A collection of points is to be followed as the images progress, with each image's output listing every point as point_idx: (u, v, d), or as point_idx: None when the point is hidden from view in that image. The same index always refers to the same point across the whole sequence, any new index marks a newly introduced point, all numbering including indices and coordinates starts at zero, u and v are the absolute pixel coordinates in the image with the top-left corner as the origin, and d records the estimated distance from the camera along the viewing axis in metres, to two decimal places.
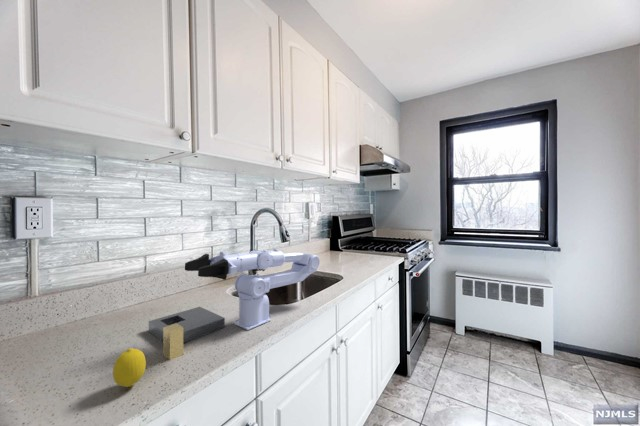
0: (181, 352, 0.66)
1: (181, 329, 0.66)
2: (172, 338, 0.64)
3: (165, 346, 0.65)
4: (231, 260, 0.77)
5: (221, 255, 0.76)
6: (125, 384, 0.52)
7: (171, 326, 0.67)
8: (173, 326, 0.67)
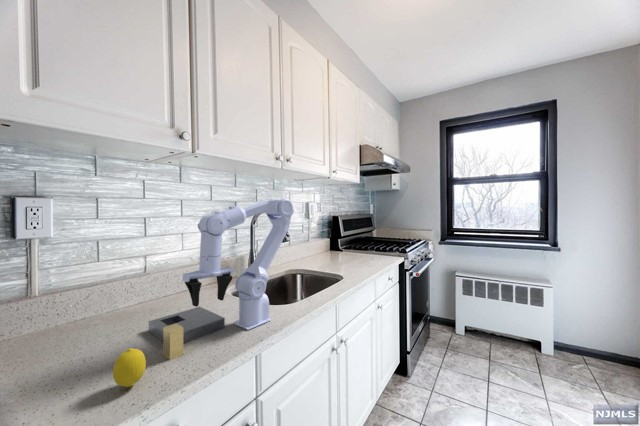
0: (181, 352, 0.66)
1: (181, 329, 0.66)
2: (172, 338, 0.64)
3: (165, 346, 0.65)
4: (220, 265, 0.76)
5: (215, 274, 0.73)
6: (125, 384, 0.52)
7: (171, 326, 0.67)
8: (173, 326, 0.67)
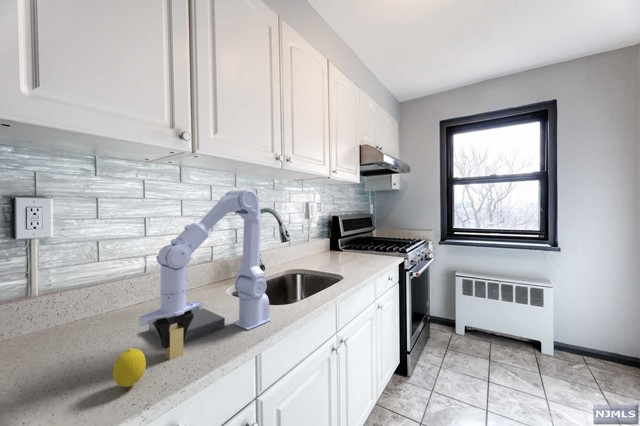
0: (181, 352, 0.66)
1: (181, 329, 0.66)
2: (172, 338, 0.64)
3: None
4: (185, 302, 0.67)
5: None
6: (125, 384, 0.52)
7: (171, 326, 0.67)
8: (173, 326, 0.67)
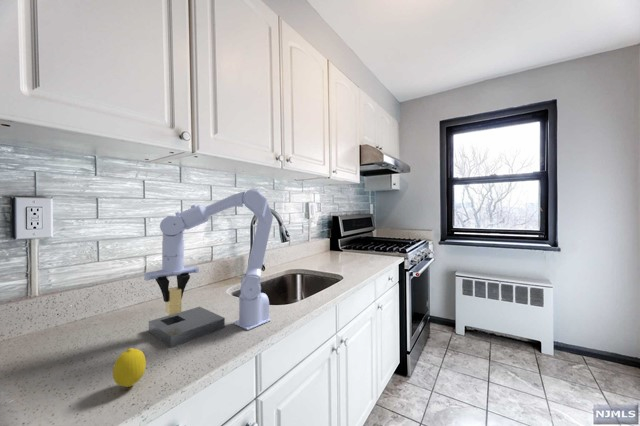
0: (179, 310, 0.78)
1: (179, 290, 0.78)
2: (171, 297, 0.76)
3: (166, 304, 0.78)
4: (183, 264, 0.79)
5: (176, 273, 0.77)
6: (125, 384, 0.52)
7: (172, 288, 0.79)
8: (173, 288, 0.79)
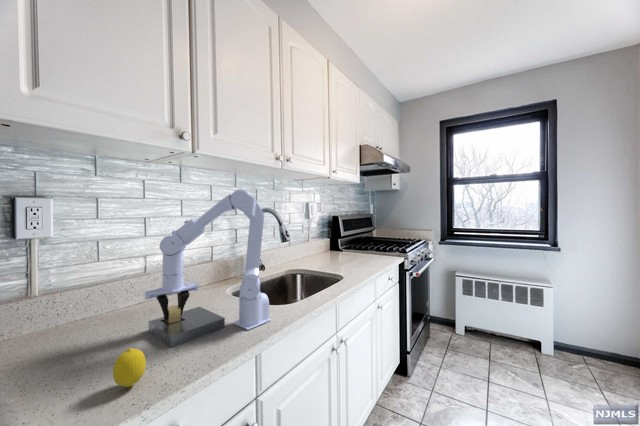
0: None
1: (179, 309, 0.79)
2: (171, 316, 0.78)
3: (166, 322, 0.79)
4: (182, 283, 0.80)
5: None
6: (125, 384, 0.52)
7: (172, 306, 0.81)
8: (173, 307, 0.80)
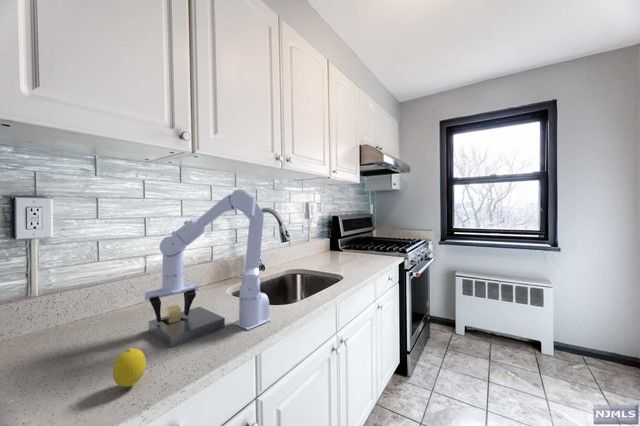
0: None
1: (179, 309, 0.79)
2: (171, 316, 0.78)
3: (166, 322, 0.79)
4: (182, 283, 0.80)
5: (176, 292, 0.78)
6: (125, 384, 0.52)
7: (172, 306, 0.81)
8: (173, 307, 0.80)
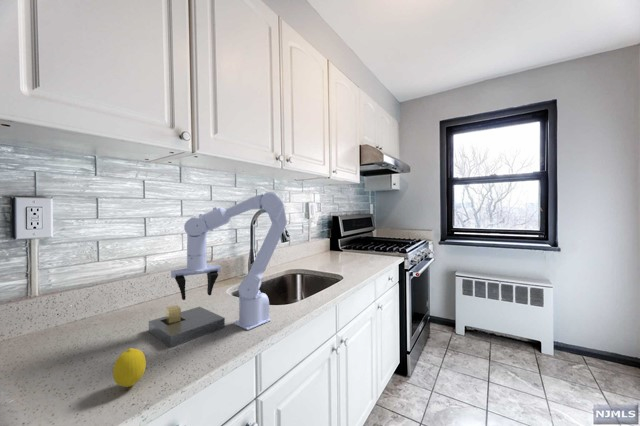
0: None
1: (179, 309, 0.79)
2: (171, 316, 0.78)
3: (166, 322, 0.79)
4: (205, 264, 0.83)
5: None
6: (125, 384, 0.52)
7: (172, 306, 0.81)
8: (173, 307, 0.80)
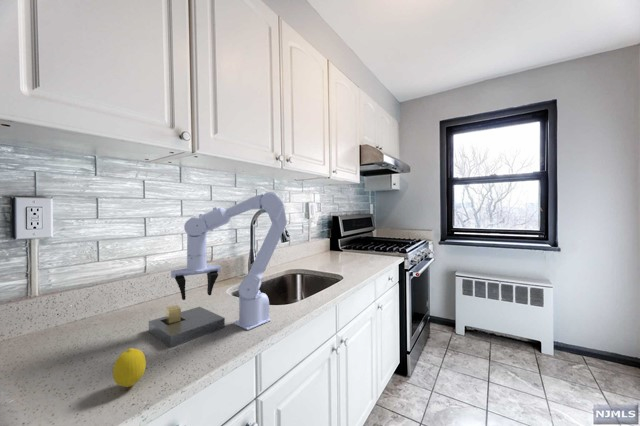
0: None
1: (179, 309, 0.79)
2: (171, 316, 0.78)
3: (166, 322, 0.79)
4: (205, 264, 0.83)
5: None
6: (125, 384, 0.52)
7: (172, 306, 0.81)
8: (173, 307, 0.80)
